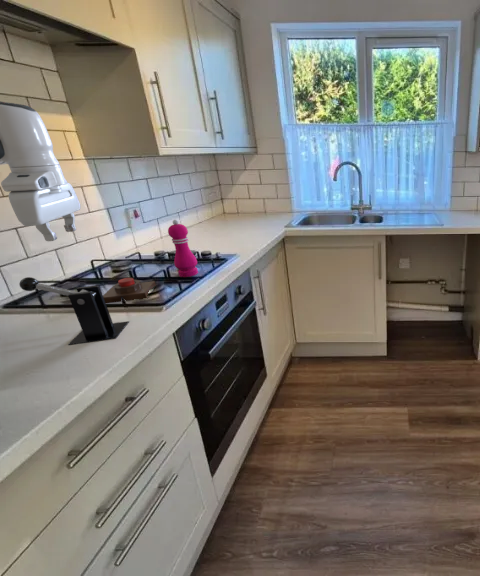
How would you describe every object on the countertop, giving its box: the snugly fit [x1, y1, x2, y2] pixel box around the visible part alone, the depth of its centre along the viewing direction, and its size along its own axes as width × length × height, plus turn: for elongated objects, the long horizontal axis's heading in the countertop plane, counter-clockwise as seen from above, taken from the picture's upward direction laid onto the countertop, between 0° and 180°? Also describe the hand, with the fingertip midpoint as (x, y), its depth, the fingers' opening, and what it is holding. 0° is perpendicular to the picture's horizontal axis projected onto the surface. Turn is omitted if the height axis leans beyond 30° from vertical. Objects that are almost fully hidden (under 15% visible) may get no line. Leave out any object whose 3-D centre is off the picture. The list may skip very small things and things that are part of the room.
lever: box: [18, 276, 96, 299], centre depth 85 cm, size 14×3×3 cm, turn 107°
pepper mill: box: [167, 219, 199, 278], centre depth 127 cm, size 7×7×20 cm
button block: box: [102, 279, 157, 304], centre depth 114 cm, size 12×10×4 cm
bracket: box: [67, 284, 130, 346], centre depth 89 cm, size 10×9×13 cm
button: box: [117, 277, 135, 287], centre depth 113 cm, size 4×4×2 cm
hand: (62, 235), depth 91 cm, fingers open, 8 cm apart
